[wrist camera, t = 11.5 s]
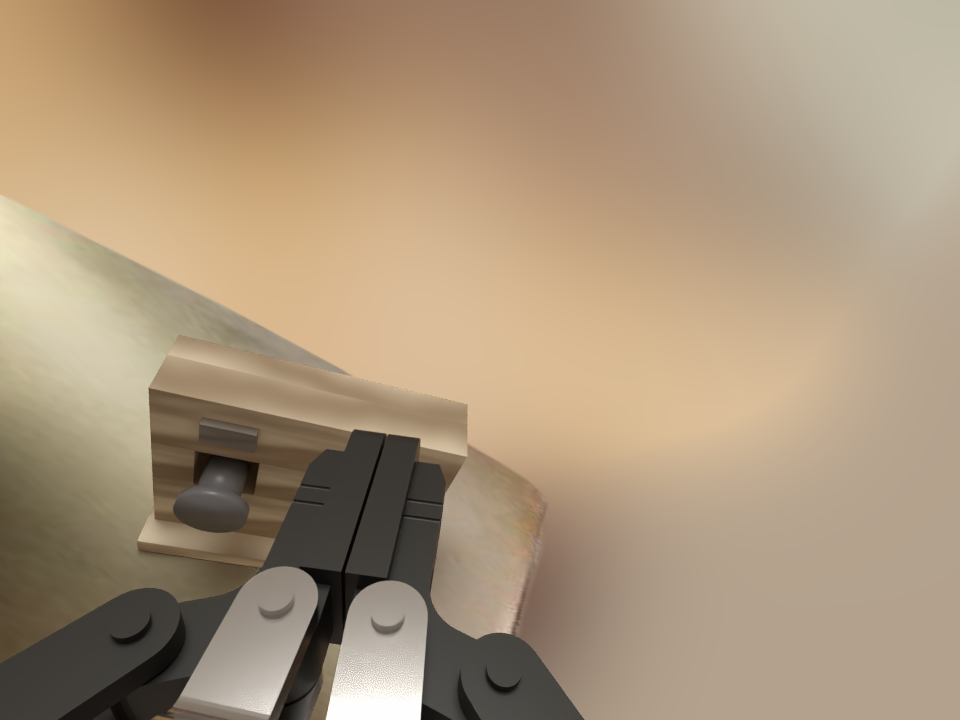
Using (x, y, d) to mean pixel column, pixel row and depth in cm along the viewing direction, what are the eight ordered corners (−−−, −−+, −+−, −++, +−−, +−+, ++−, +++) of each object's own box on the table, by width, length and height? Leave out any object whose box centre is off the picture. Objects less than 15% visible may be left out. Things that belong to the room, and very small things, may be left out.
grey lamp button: (243, 537, 40) (249, 503, 37) (172, 526, 39) (172, 490, 36) (259, 488, 44) (265, 453, 40) (194, 476, 42) (195, 439, 39)
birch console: (404, 588, 50) (473, 481, 38) (137, 549, 44) (125, 410, 33) (411, 510, 56) (473, 396, 44) (176, 466, 50) (176, 323, 39)
